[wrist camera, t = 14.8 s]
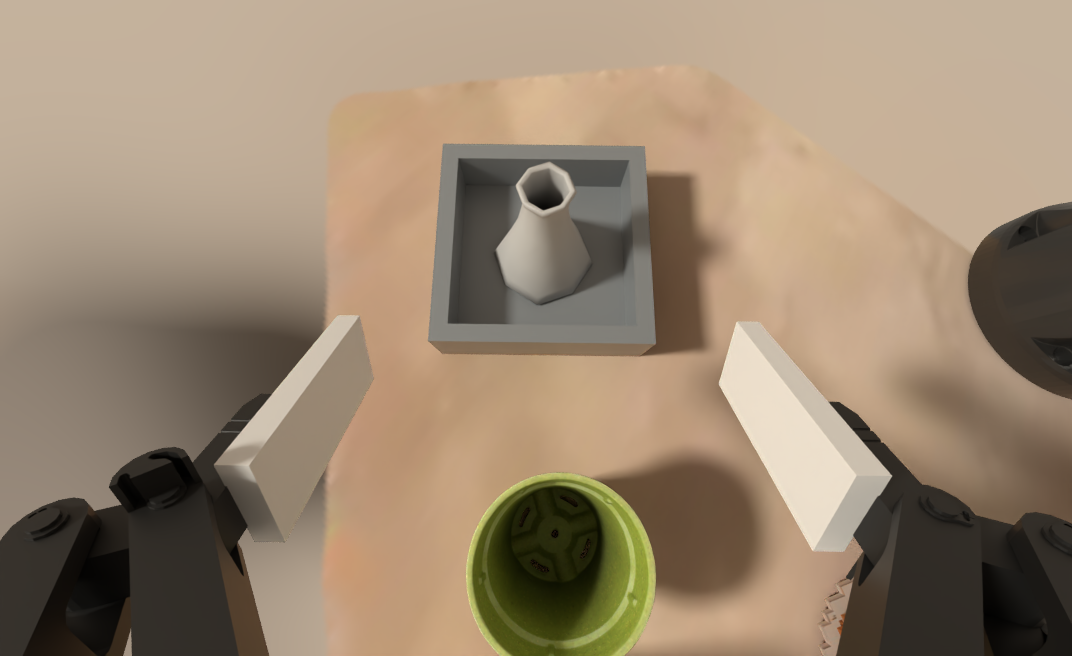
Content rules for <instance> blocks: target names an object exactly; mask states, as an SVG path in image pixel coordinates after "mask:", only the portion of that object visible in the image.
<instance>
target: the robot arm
mask: <svg viewBox="0 0 1072 656" xmlns="http://www.w3.org/2000/svg"><path fill="white" fill-rule="evenodd" d="M968 290H969V297H970V302H971V306H972V310H973V313H974V315H975V318H976V320H977V322H978V325H979V327H980V328H981V330H982V332H983V334H984V335H985V337H986V339H987V340H988V342H989V343H990V344H991V346H992V347H993V348H994V350H995V351H996V352H997V353H998V354H999V355H1000V356H1001V358H1002V359H1003V360H1004V361H1005V362H1006V363H1007V364H1009V365H1010V366H1011V367H1012V368H1013V369H1014V370H1015V371H1017V372H1018V373H1019V374H1020V375H1022V376H1023V377H1025V378H1026V379H1028V380H1029V381H1031V382H1032V383H1034V384H1036V385H1038V386H1039V387H1041V388H1043V389H1045V390H1047V391H1049V392H1052V393H1054V394H1057V395H1060V396H1063V397H1066V398H1070V399H1072V202H1068V203H1063V204H1057V205H1052V206H1048V207H1044V208H1042V209H1038V210H1035V211H1032V212H1030V213H1028V214H1026V215H1024V216H1021V217H1019V218H1017V219H1015V220H1013V221H1010V222H1008V223H1006V224H1004V225H1002V226H1000V227H998V228H996V229H995V230H993V231H992V232H991V233H990V234H989V235H988V236H987V237H985V238H984V240H983V241H982V242H981V244H980V245H979V246H978V248H977V250H976V251H975V253H974V256H973V258H972V261H971V264H970V269H969V275H968ZM373 380H374V377H373V372H372V368H371V364H370V359H369V355H368V350H367V346H366V342H365V337H364V333H363V328H362V324H361V320H360V316H354V315H337V317H336V318H335V319H334V320H333V321H332V323H331V324H330V325H329V326H328V328H327V329H326V330H325V331H324V332H323V334H322V335H321V336H320V337H319V339H318V340H317V341H316V342H315V343H314V345H313V346H312V347H311V348H310V349H309V351H308V352H307V353H306V354H305V355H304V357H303V358H302V359H301V360H300V361H299V363H298V364H297V365H296V366H295V367H294V369H293V370H292V371H291V372H290V373H289V375H288V376H287V377H286V378H285V379H284V381H283V382H282V383H281V384H280V386H279V387H278V388H277V389H276V390H275V392H274V393H273V394H260V395H258V396H257V397H255V398H254V399H252V400H251V401H249V402H248V403H246V404H245V405H243V406H242V408H241V409H240V410H239V411H238V412H237V413H236V414H235V415H234V417H233V418H232V419H231V422H228V423H227V424H226V426H225V427H224V428H223V429H222V430H221V433H218V434H217V436H216V437H215V438H214V439H213V440H212V441H211V442H210V444H209V445H208V446H207V447H206V448H205V449H204V450H203V451H202V453H201V454H200V455H199V456H198V457H197V458H196V459H195V460H194V462H193V463H192V461H191V460H190V458H189V456H188V455H187V453H186V452H185V451H184V450H183V449H180V448H176V447H172V448H162V449H158V450H154V451H151V452H148V453H146V454H143V455H141V456H139V457H137V458H135V459H133V460H132V461H130V462H129V463H128V464H126V465H125V466H123V467H122V468H121V469H120V470H119V471H118V472H117V473H116V474H115V475H114V477H113V478H112V480H111V483H110V486H109V488H110V489H111V491H112V492H113V493H114V495H115V496H116V497H117V499H118V500H119V501H120V503H121V504H122V505H119V506H114V507H110V508H106V509H101V510H97V511H94V510H93V509H92V508H91V507H90V505H89V504H88V503H87V502H86V501H85V500H84V499H80V498H68V499H63V500H58V501H56V502H53V503H50V504H47V505H45V506H42V507H40V508H39V509H37V510H35V511H33V512H31V513H30V514H28V515H26V516H25V517H23V518H22V519H21V520H20V521H18V522H17V523H16V524H14V525H13V526H12V527H11V528H10V529H9V530H8V532H7V533H6V534H5V535H4V536H3V537H2V539H1V541H0V656H123V654H124V651H125V647H126V644H127V640H128V637H129V633H130V629H131V637H132V656H269V653H268V650H267V646H266V642H265V638H264V634H263V631H262V626H261V622H260V619H259V615H258V611H257V607H256V603H255V599H254V595H253V591H252V588H251V584H250V580H249V576H248V572H247V568H246V564H245V560H244V557H243V553H242V549H241V548H240V546H239V544H238V540H239V539H240V537H241V536H242V534H243V533H244V531H245V530H246V528H248V530H249V532H250V534H251V536H252V538H253V540H254V542H286V540H287V538H288V537H289V535H290V533H291V531H292V529H293V527H294V526H295V524H296V522H297V520H298V518H299V516H300V514H301V513H302V511H303V509H304V507H305V505H306V503H307V502H308V500H309V498H310V496H311V494H312V492H313V490H314V489H315V487H316V485H317V483H318V481H319V479H320V478H321V476H322V474H323V472H324V470H325V468H326V466H327V465H328V463H329V461H330V459H331V457H332V455H333V453H334V452H335V450H336V448H337V446H338V444H339V442H340V441H341V439H342V437H343V435H344V433H345V431H346V429H347V428H348V426H349V424H350V422H351V420H352V418H353V416H354V415H355V413H356V411H357V409H358V407H359V405H360V404H361V402H362V400H363V398H364V396H365V394H366V392H367V391H368V389H369V387H370V385H371V383H372V381H373ZM719 386H720V387H721V389H722V391H723V393H724V395H725V396H726V398H727V400H728V402H729V403H730V405H731V407H732V409H733V410H734V412H735V414H736V416H737V418H738V419H739V421H740V423H741V425H742V426H743V428H744V430H745V432H746V434H747V435H748V437H749V439H750V441H751V442H752V444H753V446H754V448H755V449H756V451H757V453H758V455H759V457H760V458H761V460H762V462H763V464H764V465H765V467H766V469H767V471H768V472H769V474H770V476H771V478H772V480H773V481H774V483H775V485H776V487H777V488H778V490H779V492H780V494H781V495H782V497H783V499H784V501H785V503H786V504H787V506H788V508H789V510H790V511H791V513H792V515H793V517H794V519H795V520H796V522H797V524H798V526H799V527H800V529H801V531H802V533H803V534H804V536H805V538H806V540H807V542H808V543H809V545H810V547H811V549H812V550H813V551H827V552H844V551H845V549H846V548H847V546H848V545H849V543H850V541H851V540H852V538H853V537H855V539H856V540H857V542H858V543H859V545H860V546H861V548H862V549H863V553H862V554H861V556H860V557H859V559H858V560H857V562H856V563H855V564H854V566H853V567H852V569H851V570H850V572H849V573H848V575H847V576H846V578H848V579H849V580H852V578H853V577H854V579H853V583H852V588H851V592H850V596H849V601H848V605H847V610H846V614H845V618H844V623H843V627H842V632H841V636H840V640H839V645H838V649H837V654H836V656H1072V524H1071V523H1069V522H1067V521H1064V520H1062V519H1059V518H1056V517H1054V516H1051V515H1047V514H1042V513H1037V512H1033V513H1025V515H1024V516H1023V517H1022V518H1021V519H1020V520H1019V521H1018V522H1017V523H1016V524H1015V525H1011V524H1007V523H1003V522H999V521H995V520H992V519H988V518H984V517H980V516H976V515H975V514H974V513H973V512H972V511H971V509H970V508H969V507H968V506H966V505H965V504H964V503H963V502H961V501H960V500H959V499H957V498H956V497H954V496H952V495H950V494H949V493H947V492H945V491H943V490H940V489H937V488H934V487H931V486H928V485H922V484H921V483H920V482H919V481H918V480H917V479H916V478H915V477H914V476H913V475H912V473H911V472H910V471H909V470H908V469H907V468H906V467H905V466H904V465H903V464H902V463H901V461H900V460H899V459H898V458H897V457H896V456H895V455H894V454H893V453H892V452H891V451H890V449H889V448H888V447H887V446H886V445H885V444H884V443H881V441H880V439H879V437H878V436H877V435H876V434H875V433H874V432H873V431H870V428H869V427H868V426H867V424H866V423H865V422H864V421H863V420H862V419H861V418H860V417H859V416H858V415H857V414H856V413H855V412H853V411H852V410H850V409H849V408H847V407H846V406H844V405H843V404H841V403H840V402H828V401H827V400H826V399H825V398H824V397H823V395H822V394H821V393H820V392H819V391H818V390H817V388H816V387H815V386H814V385H813V384H812V383H811V381H810V380H809V379H808V378H807V377H806V376H805V375H804V373H803V372H802V371H801V370H800V369H799V368H798V366H797V365H796V364H795V363H794V362H793V361H792V359H791V358H790V357H789V356H788V355H787V354H786V353H785V351H784V350H783V349H782V348H781V347H780V346H779V344H778V343H777V342H776V341H775V340H774V339H773V338H772V336H771V335H770V334H769V333H768V332H767V331H766V329H765V328H764V327H763V326H762V325H761V324H760V322H740V321H737V323H736V326H735V330H734V333H733V336H732V340H731V343H730V347H729V350H728V354H727V357H726V361H725V364H724V367H723V371H722V374H721V378H720V381H719Z"/></svg>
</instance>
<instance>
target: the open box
mask: <svg viewBox="0 0 1072 656" xmlns="http://www.w3.org/2000/svg"><path fill="white" fill-rule="evenodd" d="M547 162H551V163H553V164H555V165H557V166H558V167H560V168H562V169H563V170H565V171H567V172H569V175H570V177H571V179H572V182H573V184H574V186H575V189H576V191H577V193H576V195H575V197H574V198H573V199H572V201H571V202H570V204H569V214H570V218H571V220H572V221H573V223H574V224H575V226H576V227H577V229H578V230H579V232H580V235H581V237H582V239H583V242H584V244H585V247H586V249H587V251H588V254H589V256H590V259H591V261H592V263H593V264H592V265H591V267H590V268H589V270H588V271H587V273H586V274H585V276H584V277H583V279H582V280H581V282H580V283H579V284H578V286H577V287H576V289H575V290H574V292H573V293H571V294H568V295H566V296H563V297H560V298H557V299H554V300H551V301H548V302H545V303H542V304H539V305H536V304H534V303H533V302H531V301H530V300H528V299H527V298H525V297H523V296H522V295H520V294H519V293H517V292H515V291H514V290H512V289H511V288H509V287H508V286H506V285H505V282H504V279H503V276H502V274H501V271H500V268H499V265H498V263H497V260H496V257H495V254H494V251H495V250H496V249H497V247H498V246H499V244H500V243H501V242H502V240H503V239H504V238H505V236H506V235H507V234H508V232H509V231H510V229H511V228H512V227H513V225H514V224H515V222H516V221H517V219H518V216H519V213H520V210H521V207H522V201H521V199H520V196H519V194H518V191H517V189H516V184H517V183H518V181H519V180H520V179H521V177H522V176H523V175H524V173H525V172H526V171H527V170H528V168H531V167H534V166H537V165H540V164H543V163H547ZM428 341H429V342H430V343H431V344H432V345H433V346H434V347H435V348H437V349H438V350H439V351H440V352H441V353H442V354H505V355H583V356H641V355H642V354H643V353H645V352H646V351H647V350H649V349H650V348H651V347H653V346H654V345H655V344H656V335H655V317H654V299H653V282H652V264H651V246H650V228H649V211H648V193H647V175H646V157H645V146H582V145H502V144H443V151H442V164H441V177H440V190H439V204H438V217H437V230H436V244H435V257H434V270H433V283H432V297H431V310H430V323H429V336H428Z"/></svg>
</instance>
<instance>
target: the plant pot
mask: <svg viewBox="0 0 1072 656" xmlns="http://www.w3.org/2000/svg"><path fill="white" fill-rule="evenodd" d="M560 496H567V497H570V498H572V499H574V500H575V501H576V502H577V504H578V506H577V507H574V506H573V505H572V504H570V503H569V502H567V501H565V500H563V499H560ZM526 508H530V512H529V513H528V515H527V517H526V519H525V521H524V524H523V526H522V527H520V525H519V522H520V520H521V518H522V513H523V511H524V510H525V509H526ZM553 530H557V531H558V536H557V537H556V538H553V537H552V536H551V533H552V531H553ZM587 539H590V542H591V544H590V548H589V550H588V553H587V555H586V557H584V558H583V559H582V558H580V555H581V553H582V551H583V550H584V548H585V545H586V542H587ZM531 560H535V561H536V562H538V563H539V564H540V565H542V566H545V567H548V568H549V572H541V571H539V570H538V569H536V568H535V567H533V565H532V564H531V562H530V561H531ZM466 583H467V592H468V598H469V603H470V607H471V611H472V613H473V616H474V618H475V621H476V623H477V625H478V627H479V629H480V631H481V633H482V634H483V636H484V637H485V639H486V640H487V642H488V643H489V644H490V645H491V647H492V648H493V649H494V650H495V651H496V652H497V653H498V654H499V655H500V656H625V655H626V654H627V653H628V652H629V651H630V650H631V649H632V647H633V646H634V645H635V644H636V642H637V641H638V640H639V638H640V636H641V635H642V633H643V631H644V629H645V627H646V624H647V622H648V619H649V617H650V614H651V610H652V608H653V603H654V598H655V590H656V567H655V560H654V555H653V550H652V547H651V543H650V541H649V538H648V535H647V533H646V531H645V528H644V526H643V524H642V522H641V521H640V519H639V517H638V516H637V514H636V513H635V511H634V510H633V509H632V508H631V506H630V505H629V504H628V503H627V502H626V501H625V500H624V499H623V498H622V497H621V496H620V495H618V494H617V493H616V492H615V491H613V490H612V489H611V488H609V487H608V486H606V485H604V484H603V483H601V482H599V481H597V480H594V479H592V478H589V477H587V476H583V475H579V474H573V473H564V472H556V473H546V474H541V475H537V476H533V477H530V478H528V479H525V480H523V481H521V482H519V483H517V484H515V485H514V486H512V487H511V488H509V489H508V490H506V491H505V492H504V493H502V494H501V495H500V496H499V497H498V498H497V499H496V500H495V501H494V502H493V503H492V504H491V506H490V507H489V508H488V510H487V511H486V512H485V514H484V515H483V517H482V519H481V520H480V522H479V524H478V526H477V528H476V531H475V533H474V535H473V538H472V541H471V544H470V548H469V553H468V558H467V565H466Z"/></svg>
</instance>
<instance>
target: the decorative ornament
mask: <svg viewBox="0 0 1072 656" xmlns="http://www.w3.org/2000/svg"><path fill="white" fill-rule="evenodd" d="M853 579H854V577H853V578H852V580H849V579H846V580H844V581H842V582H839V583H837V584H836V586H837V589H838V591H839V593H838V594H836V595H833V596H831V597H829V598H826V599H825V601H826V603H827V606H828V609H825V610H823V611H821V612H822V615H823V617H824V619H825V621H823V622H820V623H818V626H819V628H820V630H821V633H822V635H823V637H824V639H825V641H826V642H825V643H823V644H820V645H818V646H819V649H820V651H821V653H822V655H823V656H836V654H837V649H838V645H839V640H840V636H841V632H842V627H843V623H844V618H845V614H846V610H847V605H848V601H849V596H850V592H851V588H852V583H853Z"/></svg>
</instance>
